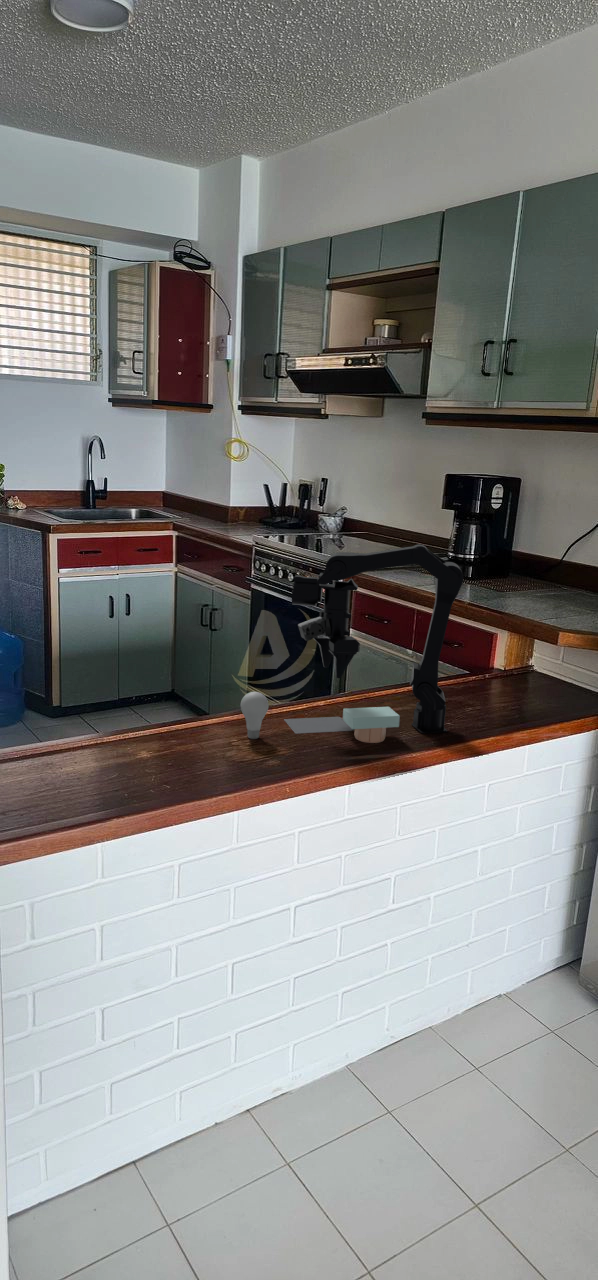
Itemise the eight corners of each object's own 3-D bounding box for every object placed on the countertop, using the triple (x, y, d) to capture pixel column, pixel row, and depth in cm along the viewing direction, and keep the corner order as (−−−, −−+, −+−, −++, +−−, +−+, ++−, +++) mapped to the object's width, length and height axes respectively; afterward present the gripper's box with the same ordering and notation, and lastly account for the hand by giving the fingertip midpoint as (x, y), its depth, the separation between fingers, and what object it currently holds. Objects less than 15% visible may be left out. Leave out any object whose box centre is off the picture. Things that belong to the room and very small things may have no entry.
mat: (339, 718, 209) (339, 716, 209) (353, 733, 200) (353, 730, 200) (283, 721, 205) (283, 719, 205) (295, 736, 196) (295, 733, 196)
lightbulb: (263, 746, 189) (265, 697, 186) (236, 742, 190) (237, 694, 187) (269, 736, 195) (271, 689, 192) (243, 733, 196) (245, 687, 193)
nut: (377, 734, 200) (379, 717, 199) (388, 744, 194) (389, 727, 193) (350, 735, 198) (351, 719, 197) (360, 745, 192) (362, 728, 191)
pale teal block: (387, 717, 200) (388, 706, 199) (398, 727, 194) (399, 715, 193) (342, 719, 197) (343, 708, 196) (352, 729, 190) (353, 717, 190)
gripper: (291, 599, 207) (288, 663, 211) (315, 616, 190) (311, 685, 194) (335, 599, 211) (331, 661, 214) (362, 616, 193) (358, 683, 197)
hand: (332, 672), depth 205 cm, fingers open, 9 cm apart
